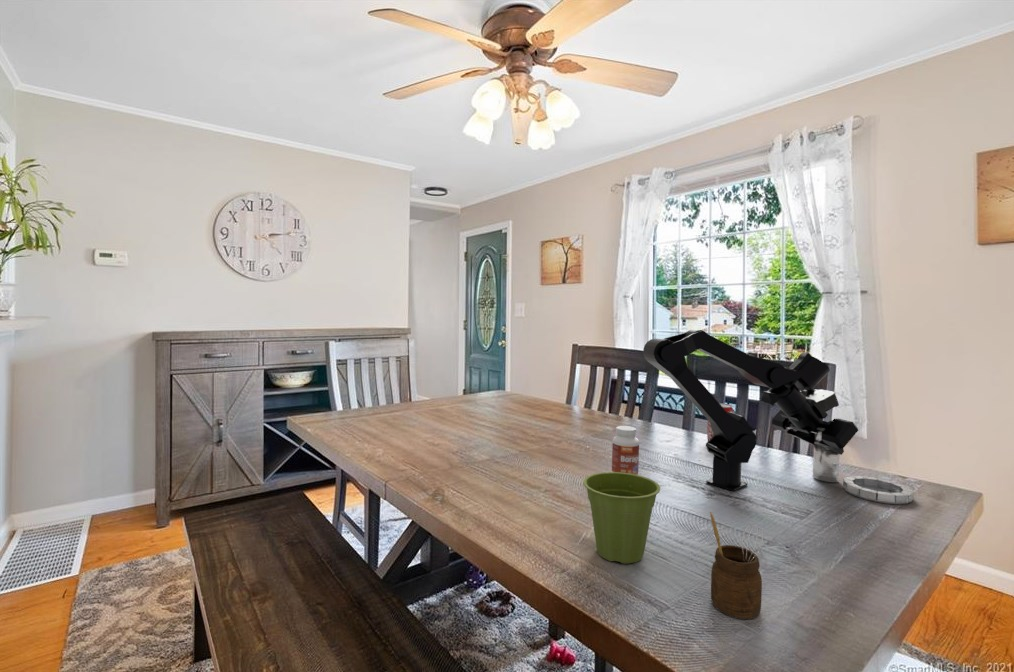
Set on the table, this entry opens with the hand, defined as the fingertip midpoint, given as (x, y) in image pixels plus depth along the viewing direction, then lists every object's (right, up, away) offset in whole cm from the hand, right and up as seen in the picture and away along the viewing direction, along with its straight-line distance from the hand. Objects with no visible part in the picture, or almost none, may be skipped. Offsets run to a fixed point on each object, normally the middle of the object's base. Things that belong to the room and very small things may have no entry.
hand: (831, 449), depth 111 cm
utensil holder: (-46, -9, -49) cm, 68 cm away
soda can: (-13, -6, +29) cm, 32 cm away
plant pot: (-58, -8, -35) cm, 68 cm away
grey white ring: (+4, -7, -9) cm, 12 cm away
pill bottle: (-47, -7, +3) cm, 48 cm away
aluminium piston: (-1, -7, 0) cm, 7 cm away
